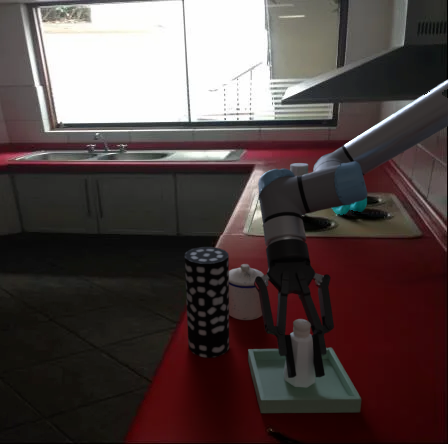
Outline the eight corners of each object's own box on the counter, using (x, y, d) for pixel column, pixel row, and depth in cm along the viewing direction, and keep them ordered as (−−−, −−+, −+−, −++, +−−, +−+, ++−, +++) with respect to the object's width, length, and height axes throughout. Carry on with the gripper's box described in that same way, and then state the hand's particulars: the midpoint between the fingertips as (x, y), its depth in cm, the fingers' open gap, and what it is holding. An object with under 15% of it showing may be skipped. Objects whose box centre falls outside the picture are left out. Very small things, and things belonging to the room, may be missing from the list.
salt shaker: (311, 392, 69) (314, 335, 66) (278, 382, 72) (280, 326, 69) (318, 373, 73) (322, 318, 70) (288, 364, 76) (290, 311, 73)
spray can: (296, 211, 169) (298, 162, 163) (309, 215, 163) (312, 164, 157) (284, 214, 166) (286, 164, 160) (297, 218, 160) (299, 166, 154)
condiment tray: (331, 359, 79) (332, 347, 78) (360, 412, 66) (361, 399, 65) (247, 360, 80) (248, 349, 79) (260, 413, 67) (260, 400, 66)
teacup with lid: (270, 307, 98) (272, 262, 95) (255, 325, 91) (255, 277, 88) (225, 295, 105) (224, 252, 101) (207, 311, 98) (206, 266, 95)
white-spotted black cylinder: (195, 331, 91) (192, 245, 84) (233, 337, 87) (232, 249, 81) (182, 353, 83) (178, 261, 77) (223, 361, 80) (222, 265, 74)
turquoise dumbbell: (367, 215, 158) (369, 190, 155) (343, 218, 157) (345, 192, 154) (350, 208, 168) (352, 184, 165) (328, 211, 166) (330, 187, 163)
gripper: (326, 251, 81) (351, 378, 71) (239, 254, 82) (251, 379, 72) (337, 235, 75) (367, 372, 64) (242, 238, 76) (257, 374, 65)
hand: (306, 376), depth 68 cm, fingers closed on salt shaker, 4 cm apart
